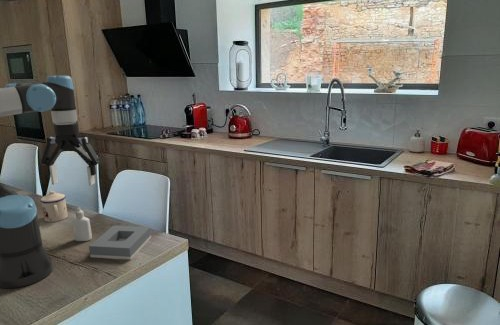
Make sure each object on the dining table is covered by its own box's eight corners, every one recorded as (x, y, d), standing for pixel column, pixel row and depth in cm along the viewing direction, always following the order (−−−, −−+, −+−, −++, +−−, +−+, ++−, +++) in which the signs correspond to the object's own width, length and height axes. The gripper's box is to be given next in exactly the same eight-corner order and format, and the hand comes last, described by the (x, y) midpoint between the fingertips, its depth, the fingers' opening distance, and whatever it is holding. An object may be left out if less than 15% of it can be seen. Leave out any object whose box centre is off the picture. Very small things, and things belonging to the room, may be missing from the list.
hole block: (130, 259, 122) (129, 248, 121) (90, 257, 124) (88, 246, 123) (151, 237, 137) (150, 227, 136) (115, 235, 140) (113, 225, 139)
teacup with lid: (43, 217, 159) (38, 190, 156) (67, 212, 164) (62, 186, 161) (45, 227, 149) (40, 198, 146) (70, 221, 154) (66, 194, 151)
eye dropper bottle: (83, 235, 141) (79, 204, 138) (93, 238, 138) (89, 207, 135) (73, 240, 137) (68, 208, 134) (83, 243, 134) (78, 211, 131)
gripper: (106, 121, 130) (112, 181, 135) (38, 121, 133) (47, 179, 138) (95, 124, 123) (102, 187, 128) (23, 124, 126) (33, 186, 131)
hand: (73, 183), depth 133 cm, fingers open, 13 cm apart
